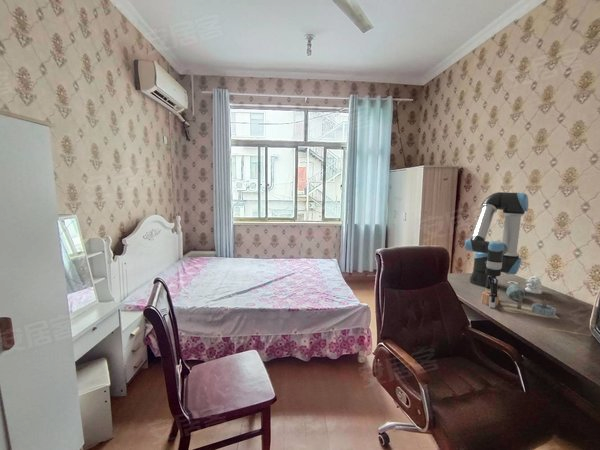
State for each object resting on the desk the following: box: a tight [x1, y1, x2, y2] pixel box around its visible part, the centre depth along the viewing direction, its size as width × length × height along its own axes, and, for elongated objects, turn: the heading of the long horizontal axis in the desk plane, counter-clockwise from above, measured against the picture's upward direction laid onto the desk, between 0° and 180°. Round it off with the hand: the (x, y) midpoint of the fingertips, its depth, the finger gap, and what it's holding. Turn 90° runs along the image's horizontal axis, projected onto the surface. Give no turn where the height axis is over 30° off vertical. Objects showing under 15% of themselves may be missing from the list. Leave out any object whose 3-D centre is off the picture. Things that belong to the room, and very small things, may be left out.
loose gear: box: [481, 290, 500, 307], centre depth 174 cm, size 8×8×6 cm
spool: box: [506, 284, 526, 302], centre depth 182 cm, size 14×10×10 cm
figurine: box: [524, 274, 543, 295], centre depth 195 cm, size 12×9×10 cm
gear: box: [531, 302, 557, 316], centre depth 162 cm, size 10×10×3 cm
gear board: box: [499, 296, 560, 320], centre depth 164 cm, size 14×24×8 cm, turn 67°
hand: (489, 303), depth 175 cm, fingers open, 12 cm apart
